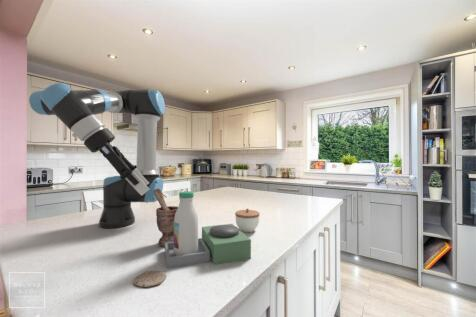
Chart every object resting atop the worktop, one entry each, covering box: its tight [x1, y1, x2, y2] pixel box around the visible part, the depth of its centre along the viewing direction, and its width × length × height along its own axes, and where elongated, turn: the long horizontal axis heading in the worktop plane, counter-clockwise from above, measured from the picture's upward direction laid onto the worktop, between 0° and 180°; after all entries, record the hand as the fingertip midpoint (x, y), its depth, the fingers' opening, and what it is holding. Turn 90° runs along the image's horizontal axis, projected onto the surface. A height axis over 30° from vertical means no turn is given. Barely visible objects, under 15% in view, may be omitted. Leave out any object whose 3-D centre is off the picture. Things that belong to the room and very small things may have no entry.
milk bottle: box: [174, 190, 199, 256], centre depth 73 cm, size 8×8×20 cm
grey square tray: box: [164, 237, 211, 269], centre depth 73 cm, size 13×13×3 cm
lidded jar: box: [234, 208, 260, 233], centre depth 99 cm, size 11×11×9 cm
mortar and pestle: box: [154, 189, 178, 248], centre depth 84 cm, size 12×9×20 cm
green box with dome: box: [201, 223, 252, 266], centre depth 77 cm, size 18×12×7 cm, turn 21°
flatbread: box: [133, 270, 167, 288], centre depth 59 cm, size 8×8×1 cm
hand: (145, 188), depth 70 cm, fingers open, 13 cm apart
